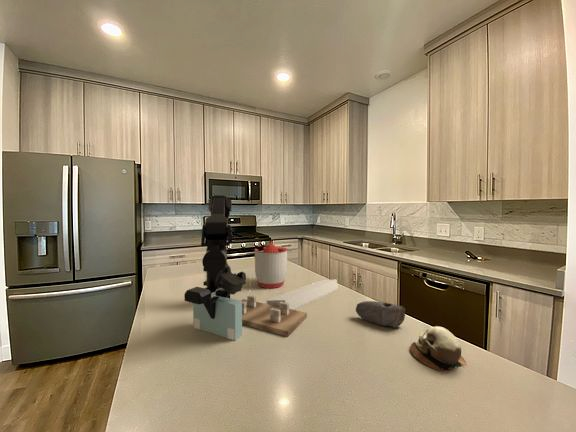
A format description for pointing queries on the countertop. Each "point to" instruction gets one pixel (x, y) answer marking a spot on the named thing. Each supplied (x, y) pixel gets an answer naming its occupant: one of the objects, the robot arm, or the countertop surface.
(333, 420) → the countertop surface
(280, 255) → the citrus juicer
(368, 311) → the perforated stone tool
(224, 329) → the door
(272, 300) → the decorative molding
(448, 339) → the skull
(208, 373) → the countertop surface
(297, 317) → the wooden pegged board
